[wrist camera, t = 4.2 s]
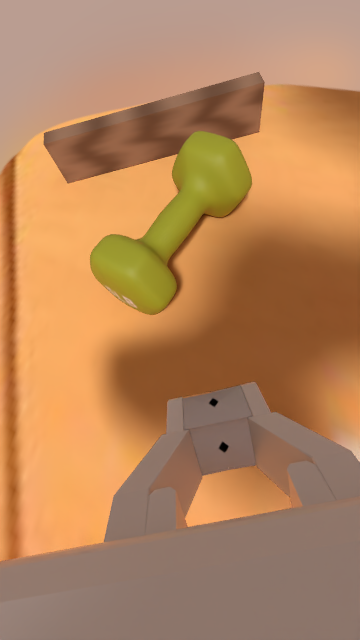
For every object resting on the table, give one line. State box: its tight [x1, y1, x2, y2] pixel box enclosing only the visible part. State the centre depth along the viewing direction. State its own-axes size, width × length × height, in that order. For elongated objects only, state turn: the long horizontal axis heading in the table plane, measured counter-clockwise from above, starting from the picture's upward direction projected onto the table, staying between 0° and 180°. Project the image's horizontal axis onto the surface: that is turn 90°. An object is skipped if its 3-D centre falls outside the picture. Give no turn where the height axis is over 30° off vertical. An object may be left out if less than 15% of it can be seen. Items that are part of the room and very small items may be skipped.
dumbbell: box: [90, 131, 252, 315], centre depth 25 cm, size 16×8×7 cm, turn 145°
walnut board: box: [44, 72, 264, 183], centre depth 32 cm, size 24×2×5 cm, turn 100°
